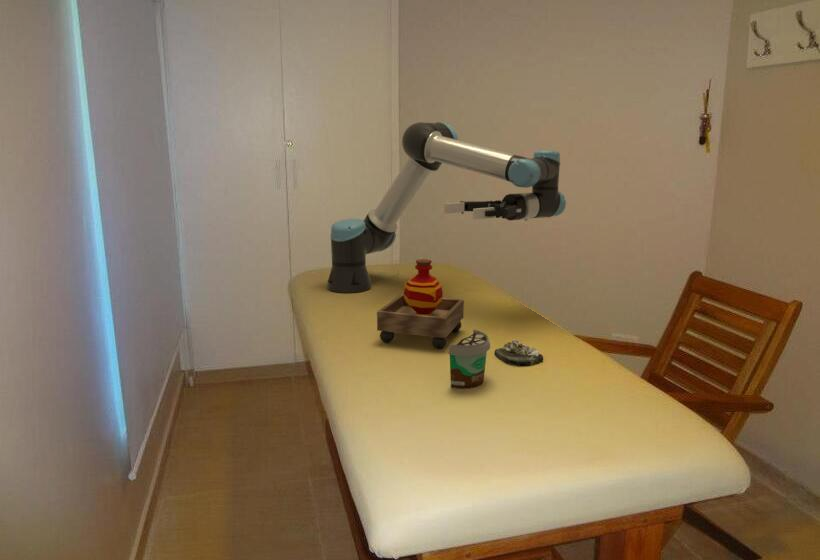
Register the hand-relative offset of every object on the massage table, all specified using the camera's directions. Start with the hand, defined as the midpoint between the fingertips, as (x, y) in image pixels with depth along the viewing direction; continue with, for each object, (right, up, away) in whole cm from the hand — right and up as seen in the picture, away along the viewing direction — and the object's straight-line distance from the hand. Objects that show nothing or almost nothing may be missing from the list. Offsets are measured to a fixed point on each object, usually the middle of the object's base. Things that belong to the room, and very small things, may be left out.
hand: (458, 211), depth 162 cm
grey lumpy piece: (+13, -38, -18) cm, 44 cm away
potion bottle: (-10, -28, -4) cm, 30 cm away
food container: (+1, -41, -32) cm, 52 cm away
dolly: (-10, -34, -3) cm, 35 cm away
